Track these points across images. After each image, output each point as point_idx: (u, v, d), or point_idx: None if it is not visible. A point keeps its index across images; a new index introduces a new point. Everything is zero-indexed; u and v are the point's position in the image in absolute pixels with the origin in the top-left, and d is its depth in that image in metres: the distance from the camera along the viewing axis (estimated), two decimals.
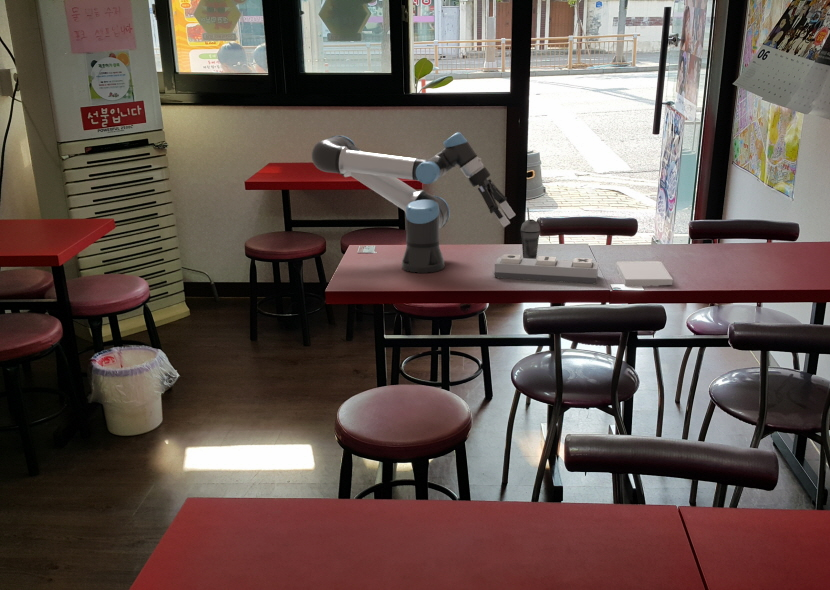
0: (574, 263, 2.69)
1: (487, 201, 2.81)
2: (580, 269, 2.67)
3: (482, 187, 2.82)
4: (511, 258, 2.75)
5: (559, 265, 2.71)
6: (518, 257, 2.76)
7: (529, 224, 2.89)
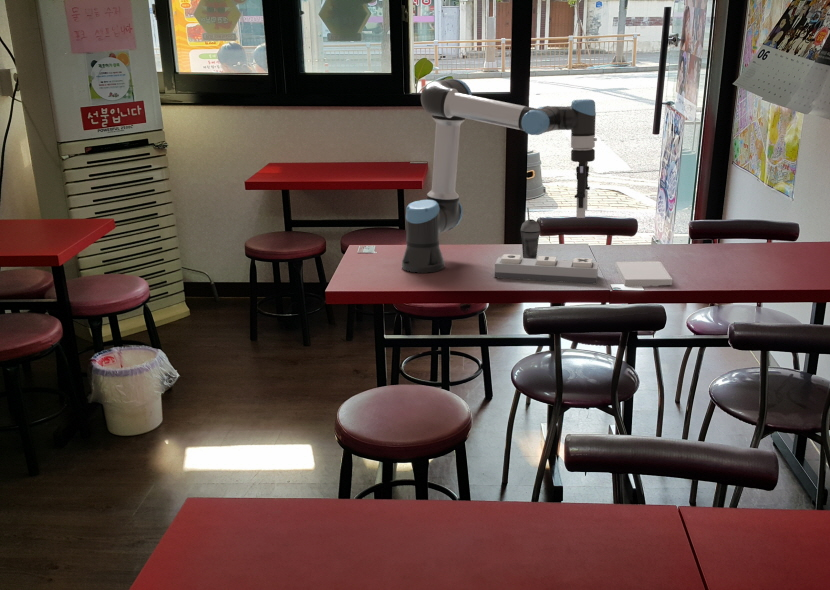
0: (574, 263, 2.69)
1: (579, 185, 2.56)
2: (580, 269, 2.67)
3: (583, 168, 2.57)
4: (511, 258, 2.75)
5: (559, 265, 2.71)
6: (518, 257, 2.76)
7: (529, 224, 2.89)
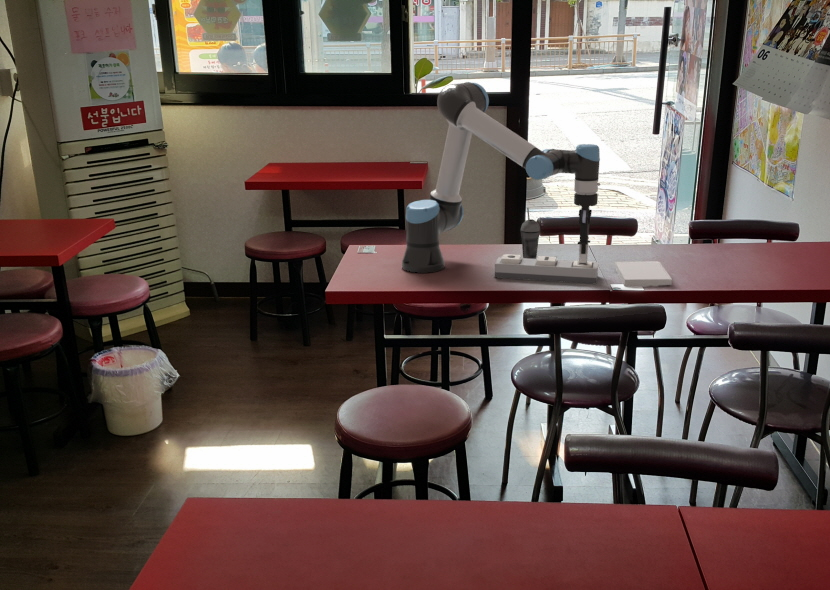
0: (574, 266, 2.69)
1: (582, 234, 2.64)
2: (580, 269, 2.67)
3: (585, 220, 2.61)
4: (511, 258, 2.75)
5: (559, 265, 2.71)
6: (518, 257, 2.76)
7: (529, 224, 2.89)
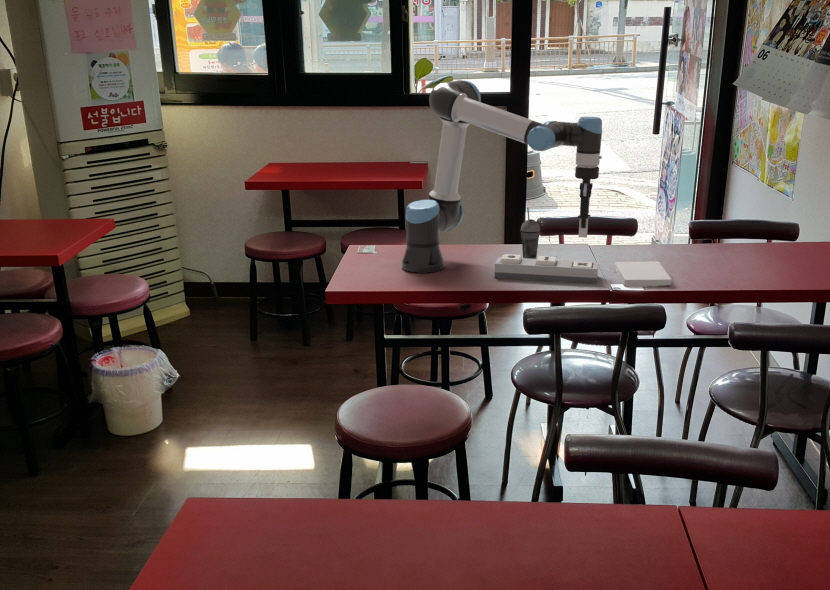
0: None
1: (582, 207, 2.62)
2: (580, 269, 2.67)
3: (586, 193, 2.58)
4: (511, 258, 2.75)
5: (559, 265, 2.71)
6: (518, 257, 2.76)
7: (529, 224, 2.89)
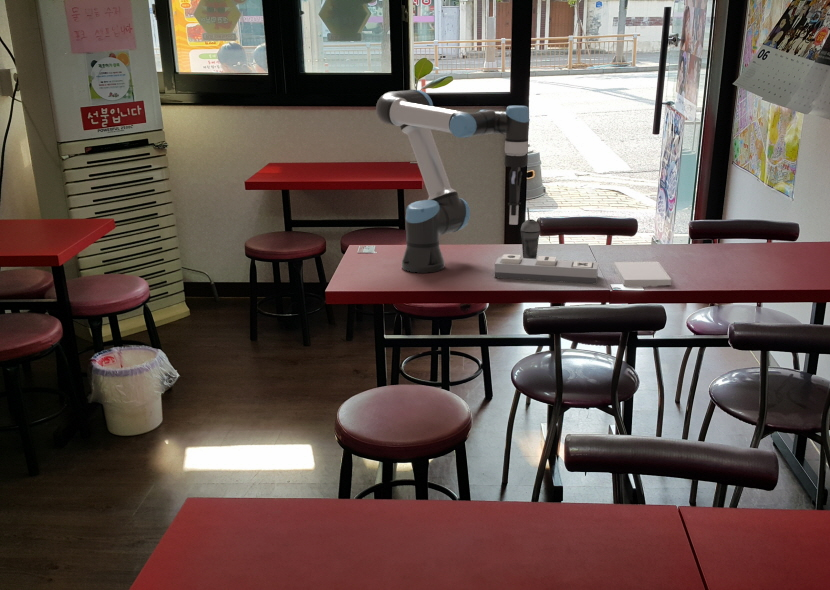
0: None
1: (511, 195, 2.66)
2: (580, 269, 2.67)
3: (514, 181, 2.63)
4: (511, 258, 2.75)
5: (559, 265, 2.71)
6: (518, 257, 2.76)
7: (529, 224, 2.89)
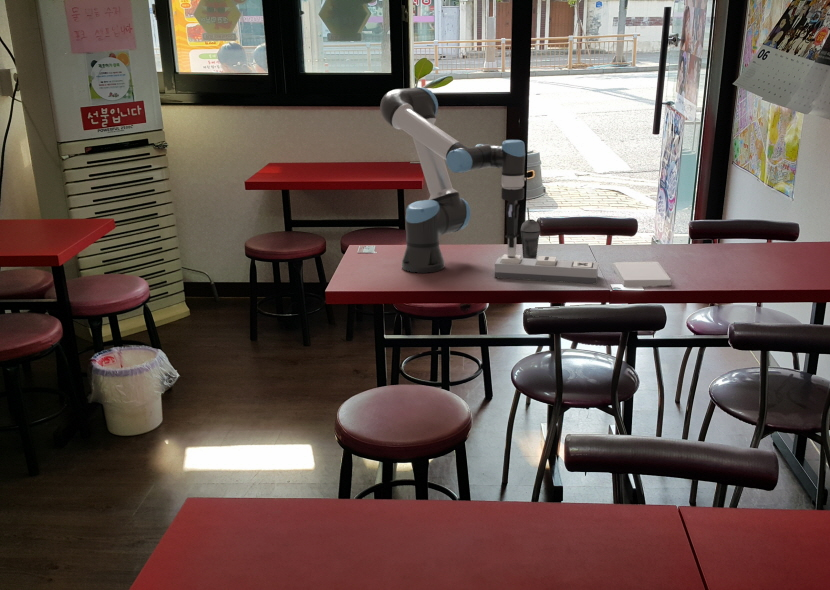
0: None
1: (509, 228, 2.70)
2: (580, 269, 2.67)
3: (511, 214, 2.66)
4: (511, 258, 2.75)
5: (559, 265, 2.71)
6: (518, 257, 2.76)
7: (529, 224, 2.89)
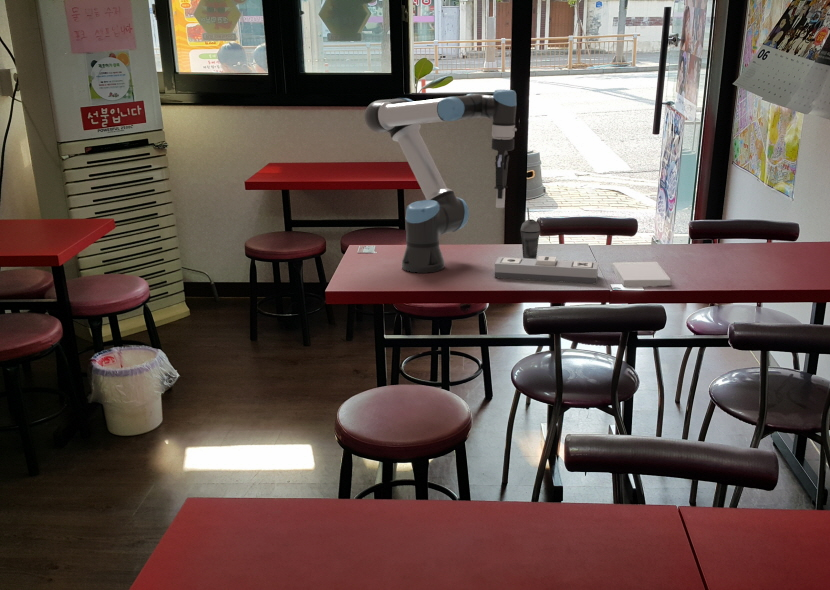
0: None
1: (497, 178, 2.70)
2: (580, 269, 2.67)
3: (500, 164, 2.66)
4: (511, 262, 2.75)
5: (559, 265, 2.71)
6: (518, 261, 2.76)
7: (529, 224, 2.89)
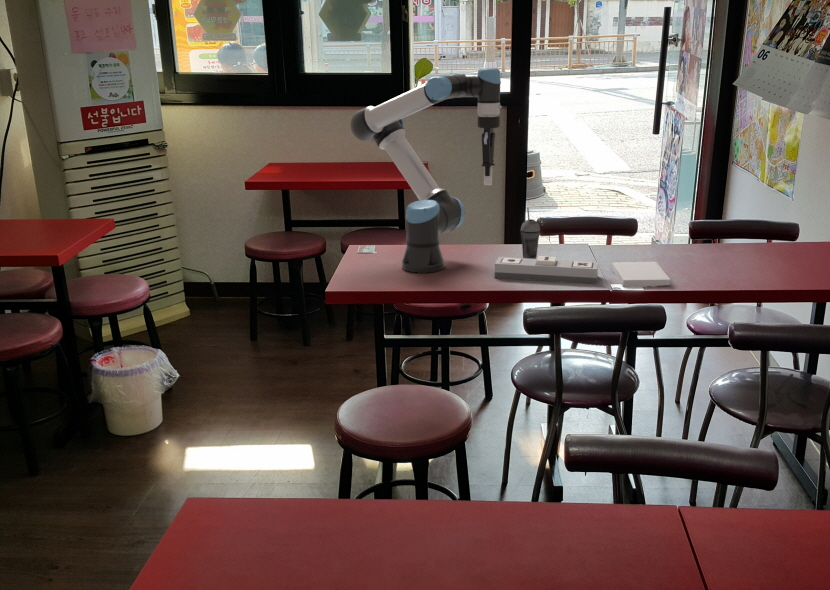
0: None
1: (484, 155, 2.74)
2: (580, 269, 2.67)
3: (486, 141, 2.70)
4: (511, 262, 2.75)
5: (559, 265, 2.71)
6: (518, 261, 2.76)
7: (529, 224, 2.89)
